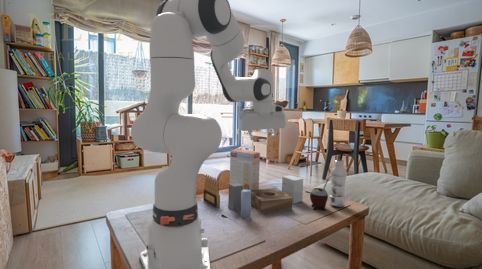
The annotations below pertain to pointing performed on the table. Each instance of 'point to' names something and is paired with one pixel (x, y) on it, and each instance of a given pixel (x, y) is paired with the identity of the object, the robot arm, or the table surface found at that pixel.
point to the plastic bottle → (338, 184)
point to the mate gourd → (319, 197)
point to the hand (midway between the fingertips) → (262, 139)
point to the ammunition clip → (211, 191)
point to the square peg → (235, 196)
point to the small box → (293, 187)
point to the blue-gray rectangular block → (245, 203)
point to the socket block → (270, 200)
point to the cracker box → (245, 168)
